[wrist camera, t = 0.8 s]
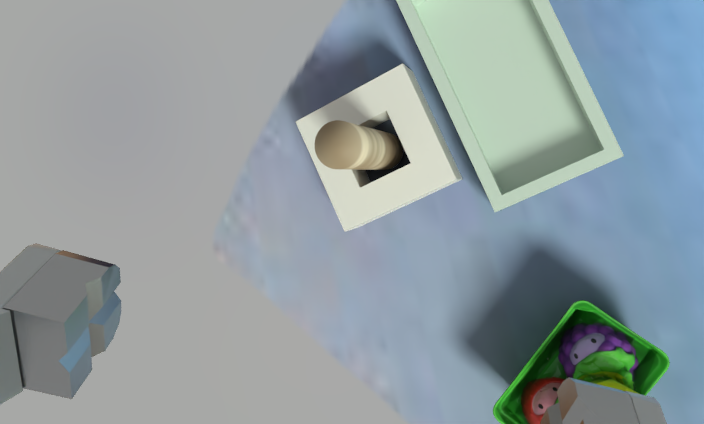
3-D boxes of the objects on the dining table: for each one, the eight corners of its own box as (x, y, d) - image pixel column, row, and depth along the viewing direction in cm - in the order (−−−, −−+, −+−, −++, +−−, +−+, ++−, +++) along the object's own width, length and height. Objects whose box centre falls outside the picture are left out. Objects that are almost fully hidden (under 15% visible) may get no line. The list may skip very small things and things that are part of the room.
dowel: (393, 126, 51) (348, 111, 39) (409, 159, 51) (368, 156, 39) (361, 142, 52) (306, 133, 40) (376, 175, 52) (326, 177, 40)
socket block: (412, 71, 50) (402, 63, 47) (462, 179, 50) (456, 179, 46) (312, 125, 53) (295, 121, 50) (358, 227, 53) (344, 231, 49)
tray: (513, -60, 47) (512, -75, 45) (618, 156, 46) (623, 155, 43) (401, 4, 50) (393, -6, 47) (497, 209, 49) (495, 212, 46)
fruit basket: (574, 282, 48) (585, 314, 37) (675, 350, 46) (718, 405, 35) (492, 390, 50) (480, 450, 39) (585, 458, 48) (599, 541, 38)
